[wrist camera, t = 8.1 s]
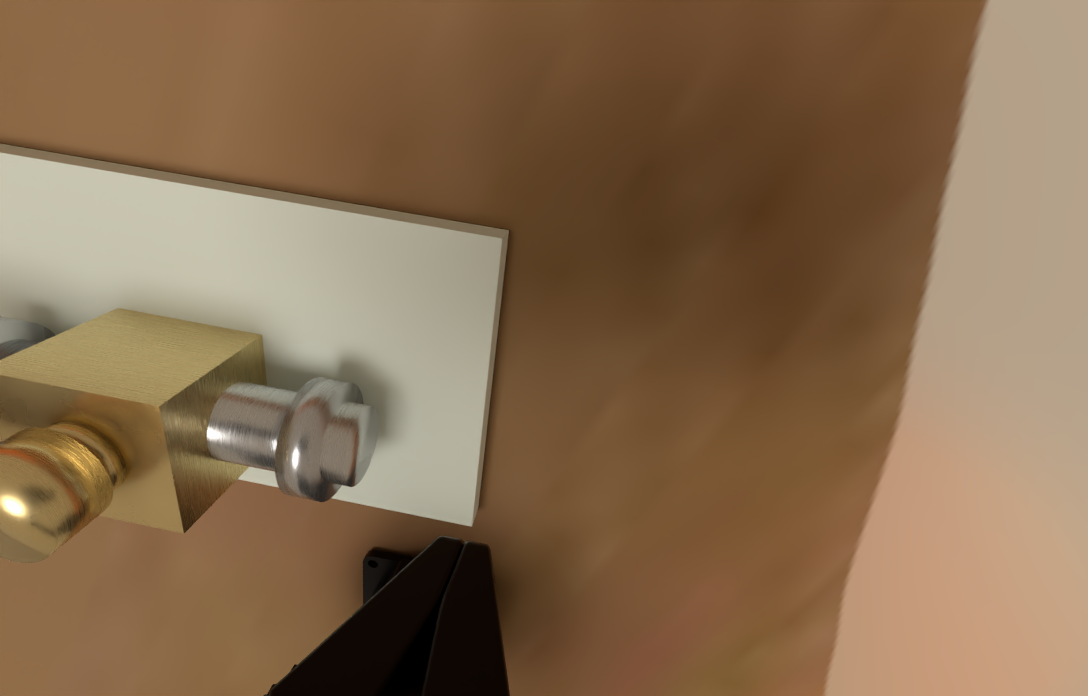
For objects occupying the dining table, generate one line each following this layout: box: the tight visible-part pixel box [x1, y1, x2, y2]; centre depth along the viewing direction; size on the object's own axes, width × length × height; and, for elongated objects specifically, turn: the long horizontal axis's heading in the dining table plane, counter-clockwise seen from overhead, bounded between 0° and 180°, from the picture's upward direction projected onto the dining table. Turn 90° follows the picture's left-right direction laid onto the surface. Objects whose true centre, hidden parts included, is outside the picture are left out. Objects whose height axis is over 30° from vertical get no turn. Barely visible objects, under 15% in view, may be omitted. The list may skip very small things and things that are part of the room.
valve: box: [0, 308, 378, 534], centre depth 21 cm, size 16×5×6 cm, turn 83°
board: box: [0, 144, 509, 527], centre depth 23 cm, size 13×24×1 cm, turn 83°
